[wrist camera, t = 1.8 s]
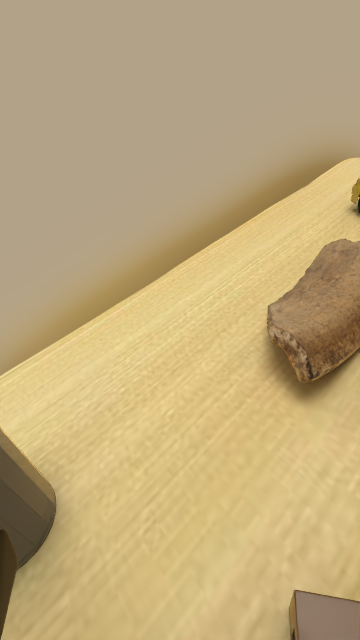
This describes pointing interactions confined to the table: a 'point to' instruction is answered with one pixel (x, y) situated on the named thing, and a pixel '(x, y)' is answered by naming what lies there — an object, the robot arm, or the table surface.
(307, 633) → the shelf
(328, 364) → the fossil
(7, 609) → the robot arm
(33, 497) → the tall drinking tumbler
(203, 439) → the table surface
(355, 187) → the toy car
